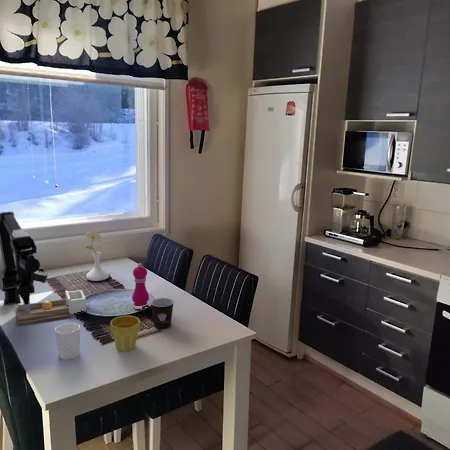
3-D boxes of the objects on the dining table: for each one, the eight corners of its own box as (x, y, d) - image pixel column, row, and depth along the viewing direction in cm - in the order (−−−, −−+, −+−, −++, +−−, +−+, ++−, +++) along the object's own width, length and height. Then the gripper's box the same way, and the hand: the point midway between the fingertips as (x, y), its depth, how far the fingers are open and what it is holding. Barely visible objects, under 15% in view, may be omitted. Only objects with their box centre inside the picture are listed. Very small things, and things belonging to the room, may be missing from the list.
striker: (24, 310, 183) (22, 291, 182) (30, 309, 184) (28, 290, 183) (24, 316, 177) (22, 297, 176) (31, 315, 178) (29, 296, 177)
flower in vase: (114, 278, 227) (112, 230, 222) (96, 284, 218) (94, 235, 212) (96, 273, 234) (94, 227, 228) (79, 279, 224) (76, 231, 219)
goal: (66, 305, 192) (65, 290, 191) (82, 302, 195) (81, 288, 194) (69, 314, 183) (68, 299, 182) (86, 311, 186) (85, 296, 185)
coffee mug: (177, 323, 177) (177, 299, 175) (167, 332, 169) (167, 308, 167) (151, 318, 181) (150, 295, 179) (140, 327, 173) (140, 303, 171)
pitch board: (16, 309, 187) (16, 302, 186) (65, 302, 195) (64, 296, 195) (17, 325, 172) (16, 318, 171) (70, 317, 180) (69, 310, 180)
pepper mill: (145, 311, 188) (144, 266, 183) (129, 309, 189) (128, 265, 185) (151, 305, 195) (150, 261, 190) (136, 303, 196) (135, 260, 192)
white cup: (60, 349, 155) (58, 323, 153) (83, 349, 156) (82, 322, 153) (54, 361, 147) (52, 333, 145) (78, 360, 148) (76, 333, 146)
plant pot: (146, 347, 158) (146, 321, 156) (121, 357, 151) (120, 330, 148) (130, 337, 165) (129, 312, 163) (105, 346, 158) (104, 320, 156)
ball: (41, 309, 185) (41, 300, 184) (52, 307, 187) (51, 299, 186) (42, 313, 182) (41, 303, 181) (52, 311, 183) (52, 302, 182)
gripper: (47, 271, 172) (49, 308, 175) (44, 257, 188) (46, 292, 192) (15, 274, 167) (18, 313, 170) (15, 260, 183) (18, 296, 187)
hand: (26, 303), depth 180 cm, fingers closed on striker, 2 cm apart
